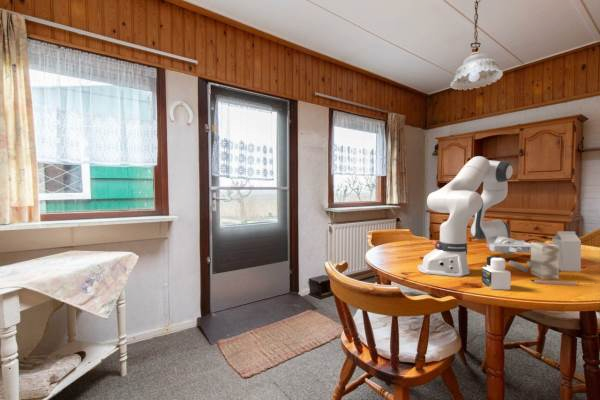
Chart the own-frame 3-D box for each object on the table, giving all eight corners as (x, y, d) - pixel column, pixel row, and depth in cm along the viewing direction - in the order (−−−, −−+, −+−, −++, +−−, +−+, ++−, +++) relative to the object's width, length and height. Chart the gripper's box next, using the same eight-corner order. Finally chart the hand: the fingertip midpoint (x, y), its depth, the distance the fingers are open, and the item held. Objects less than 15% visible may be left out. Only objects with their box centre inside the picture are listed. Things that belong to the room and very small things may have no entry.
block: (541, 278, 116) (542, 245, 116) (530, 273, 124) (531, 242, 124) (558, 279, 115) (559, 246, 115) (546, 273, 123) (546, 242, 122)
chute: (536, 283, 114) (536, 276, 114) (503, 266, 140) (503, 260, 140) (576, 285, 111) (576, 278, 111) (535, 267, 137) (535, 261, 137)
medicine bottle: (481, 283, 114) (481, 254, 114) (500, 284, 113) (500, 255, 113) (490, 289, 107) (491, 259, 107) (510, 290, 106) (511, 259, 106)
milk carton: (580, 273, 126) (581, 232, 126) (562, 273, 128) (563, 232, 127) (568, 269, 133) (569, 230, 133) (551, 268, 134) (552, 230, 134)
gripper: (484, 239, 155) (496, 244, 141) (527, 240, 150) (543, 245, 136) (484, 250, 155) (496, 256, 141) (527, 251, 150) (542, 257, 137)
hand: (519, 251), depth 139 cm, fingers closed
